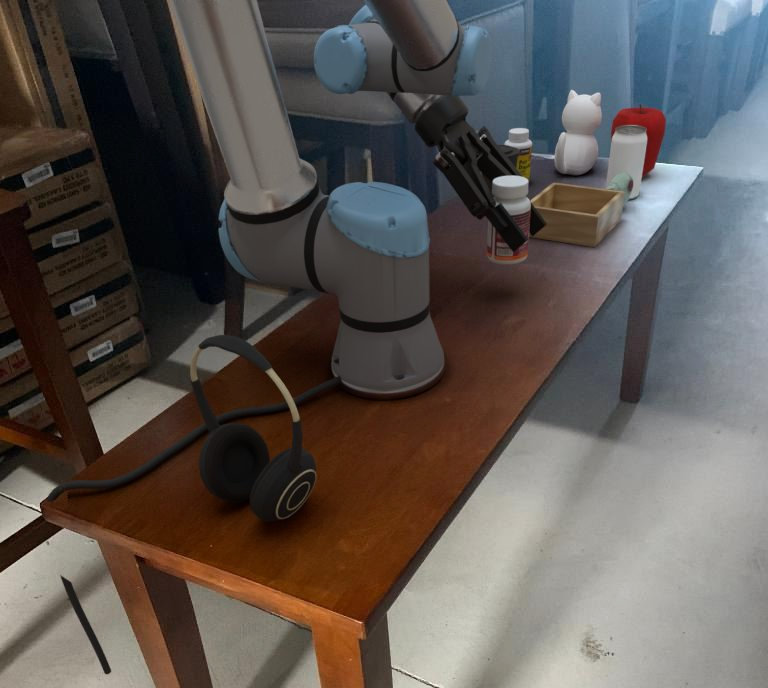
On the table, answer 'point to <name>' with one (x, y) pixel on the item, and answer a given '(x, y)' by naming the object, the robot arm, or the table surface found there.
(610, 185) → the green rounded faceted piece
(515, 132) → the supplement bottle
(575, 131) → the cat figurine
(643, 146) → the can
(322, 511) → the table surface
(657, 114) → the apple
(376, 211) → the robot arm
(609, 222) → the holder
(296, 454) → the headphones
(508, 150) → the coffee cup
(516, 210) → the pill bottle
